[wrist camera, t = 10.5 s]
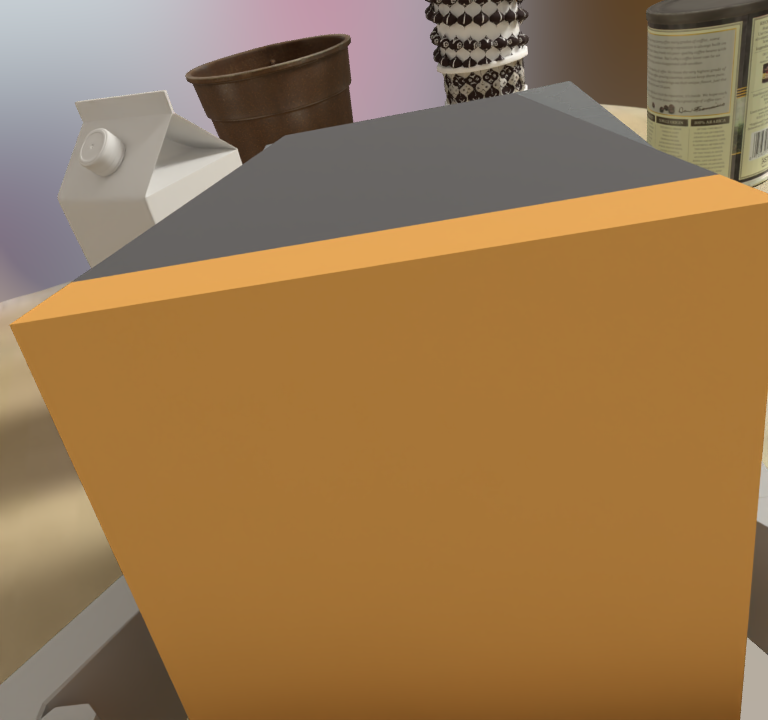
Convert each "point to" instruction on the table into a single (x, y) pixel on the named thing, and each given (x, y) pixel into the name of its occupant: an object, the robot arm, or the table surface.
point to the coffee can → (710, 85)
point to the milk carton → (135, 169)
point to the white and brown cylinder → (478, 47)
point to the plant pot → (276, 91)
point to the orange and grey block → (431, 423)
